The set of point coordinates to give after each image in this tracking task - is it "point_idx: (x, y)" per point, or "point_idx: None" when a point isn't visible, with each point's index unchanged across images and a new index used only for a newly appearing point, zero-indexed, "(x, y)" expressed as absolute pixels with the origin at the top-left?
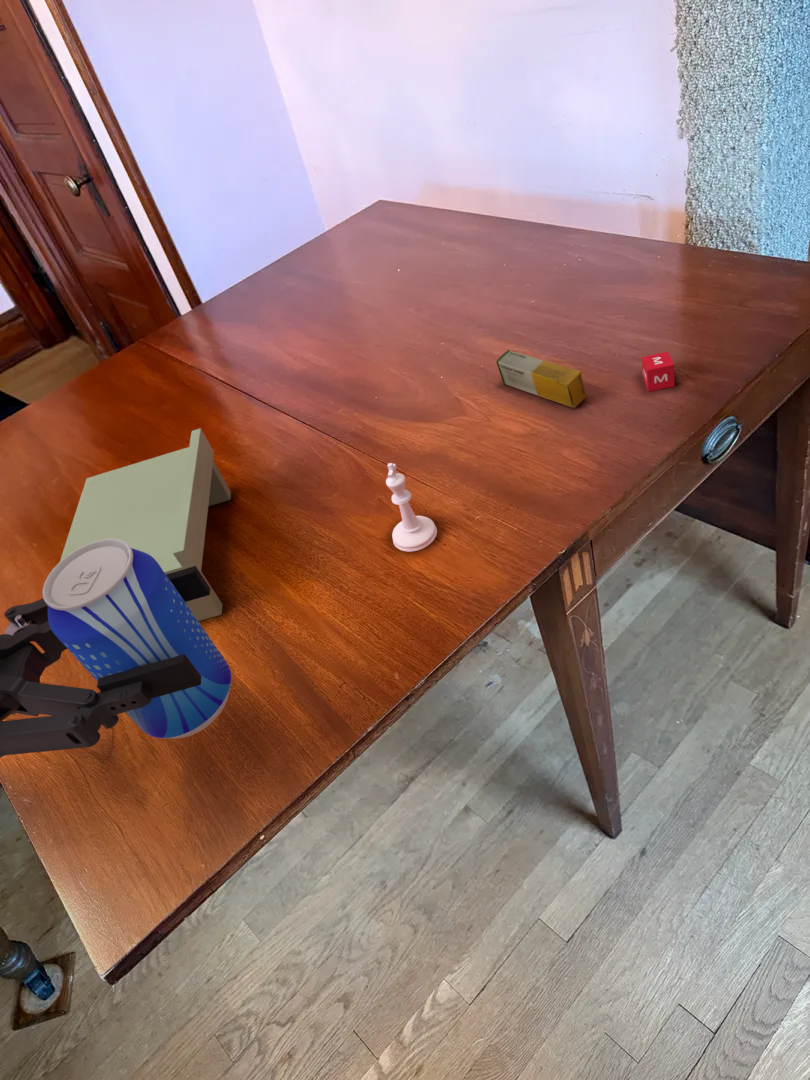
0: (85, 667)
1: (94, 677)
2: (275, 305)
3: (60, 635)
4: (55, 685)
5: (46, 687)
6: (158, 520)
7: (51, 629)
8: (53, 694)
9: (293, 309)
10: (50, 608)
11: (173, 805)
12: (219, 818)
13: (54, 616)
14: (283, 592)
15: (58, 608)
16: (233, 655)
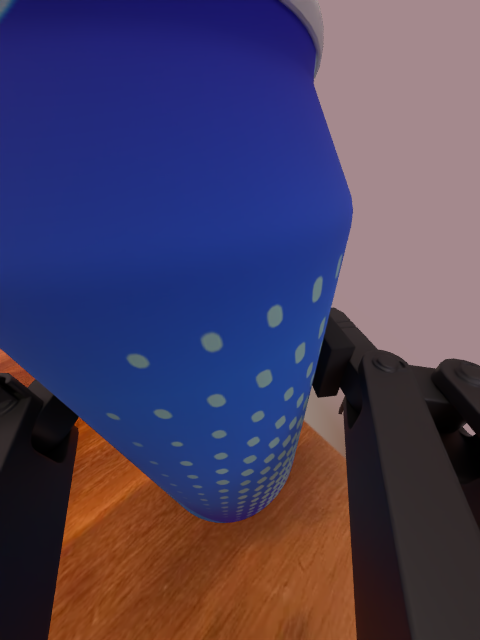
0: (308, 379)
1: (302, 405)
2: None
3: (349, 201)
4: (393, 512)
5: (428, 588)
6: None
7: (309, 226)
8: (438, 503)
9: None
10: (261, 62)
11: (301, 548)
12: (310, 470)
13: (306, 105)
14: (80, 432)
15: (321, 28)
16: (121, 486)
